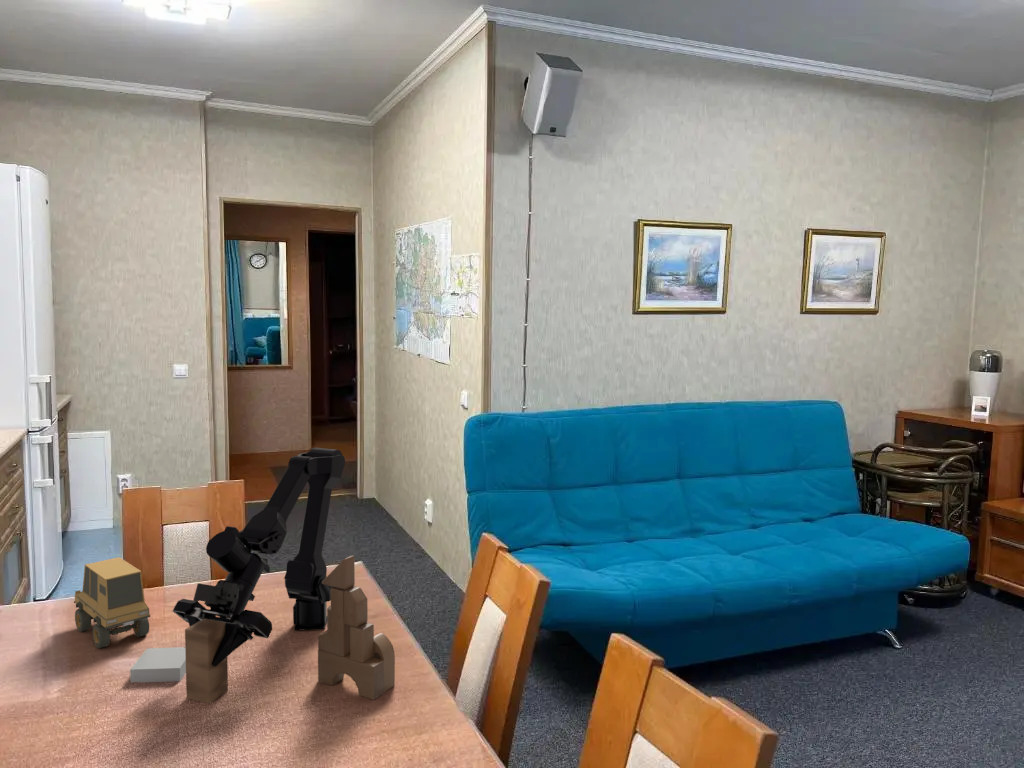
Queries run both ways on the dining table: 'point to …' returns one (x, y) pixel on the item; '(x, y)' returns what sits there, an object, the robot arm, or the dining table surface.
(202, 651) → the walnut block
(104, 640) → the toy car
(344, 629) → the wooden toy
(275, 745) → the dining table surface
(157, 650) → the grey block
